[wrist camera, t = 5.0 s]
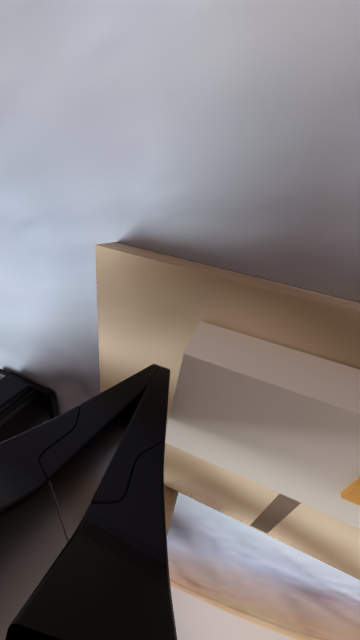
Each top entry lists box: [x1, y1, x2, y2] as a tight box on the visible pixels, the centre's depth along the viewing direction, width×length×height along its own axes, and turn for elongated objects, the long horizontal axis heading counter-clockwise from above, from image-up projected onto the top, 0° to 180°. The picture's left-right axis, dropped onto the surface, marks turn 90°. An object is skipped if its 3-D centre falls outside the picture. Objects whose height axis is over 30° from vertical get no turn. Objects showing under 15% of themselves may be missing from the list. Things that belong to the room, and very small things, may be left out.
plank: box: [96, 242, 360, 580], centre depth 11 cm, size 17×20×2 cm
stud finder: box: [165, 321, 360, 529], centre depth 8 cm, size 5×8×3 cm, turn 80°
